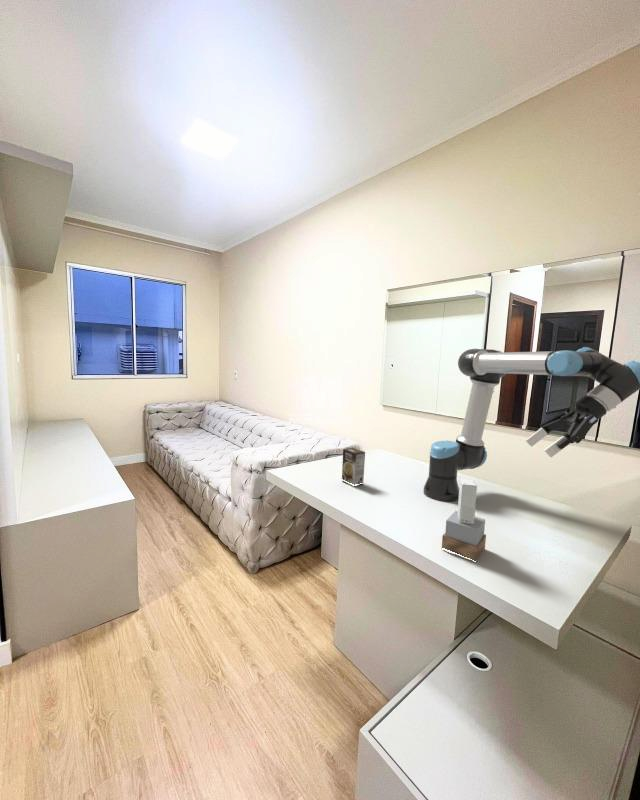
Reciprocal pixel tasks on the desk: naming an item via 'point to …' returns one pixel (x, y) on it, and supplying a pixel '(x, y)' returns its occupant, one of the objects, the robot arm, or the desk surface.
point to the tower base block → (464, 547)
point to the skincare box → (467, 501)
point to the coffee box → (353, 465)
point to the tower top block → (465, 529)
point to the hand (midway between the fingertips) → (537, 448)
